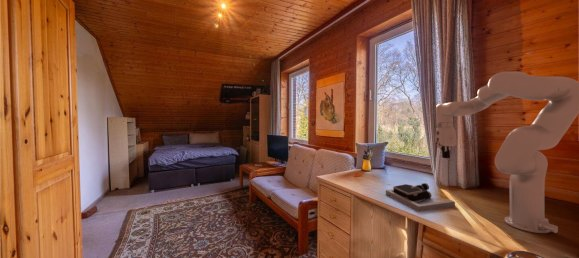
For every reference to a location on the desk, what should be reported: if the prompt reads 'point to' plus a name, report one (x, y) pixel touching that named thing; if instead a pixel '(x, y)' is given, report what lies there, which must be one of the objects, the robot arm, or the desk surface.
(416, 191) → the film camera
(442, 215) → the desk surface
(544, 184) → the robot arm
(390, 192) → the stand
